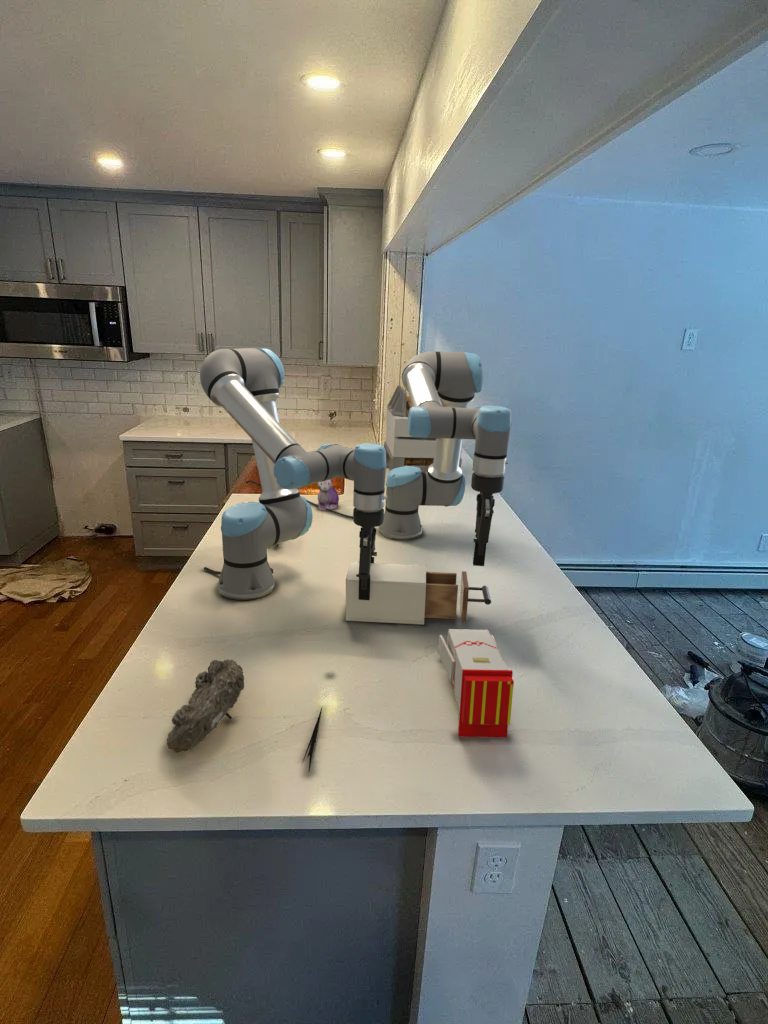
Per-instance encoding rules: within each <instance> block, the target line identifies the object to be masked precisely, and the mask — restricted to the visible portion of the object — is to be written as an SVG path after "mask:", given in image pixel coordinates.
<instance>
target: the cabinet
mask: <svg viewBox="0 0 768 1024" xmlns="http://www.w3.org/2000/svg"><path fill="white" fill-rule="evenodd" d="M426 572H427V564H426V565H425V564H402V563H383V562H382V563H380V562H374V563H370V600H359V577H356V574H359V561H350V564H349V567H348V570H347V574H346V577H345V621H349V622H366V623H383V624H405V625H423V626H424V625H425V617H424V616H425V595H426Z"/></svg>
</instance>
